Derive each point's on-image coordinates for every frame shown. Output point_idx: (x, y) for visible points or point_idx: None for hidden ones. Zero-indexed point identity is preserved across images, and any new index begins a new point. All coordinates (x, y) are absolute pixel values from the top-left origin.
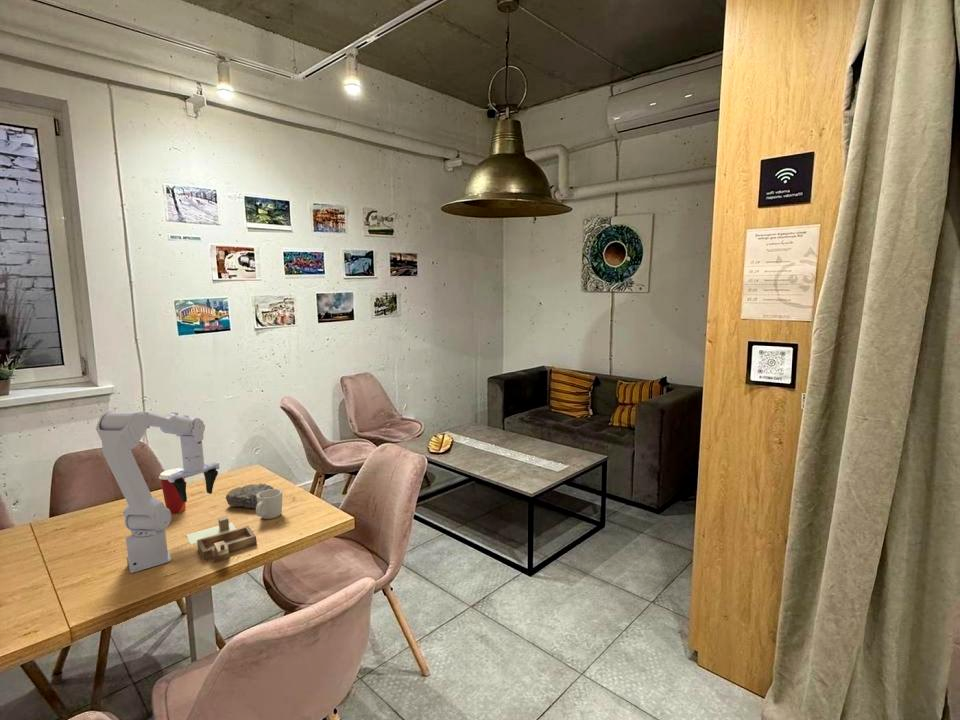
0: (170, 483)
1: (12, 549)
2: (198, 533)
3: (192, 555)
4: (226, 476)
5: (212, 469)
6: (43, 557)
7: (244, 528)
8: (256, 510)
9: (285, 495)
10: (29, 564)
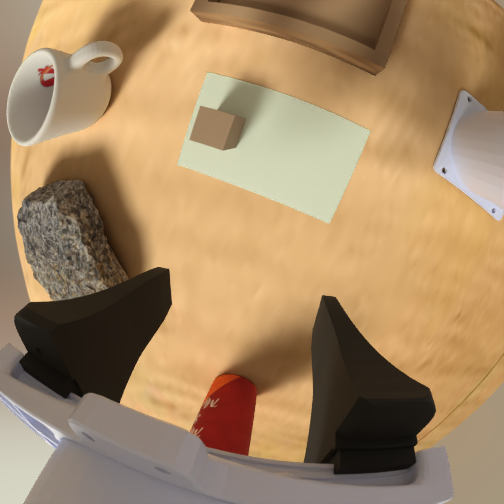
0: None
1: (446, 433)
2: (300, 188)
3: (408, 55)
4: None
5: (36, 374)
6: (474, 389)
7: (212, 2)
8: (111, 48)
9: None
10: (493, 380)
